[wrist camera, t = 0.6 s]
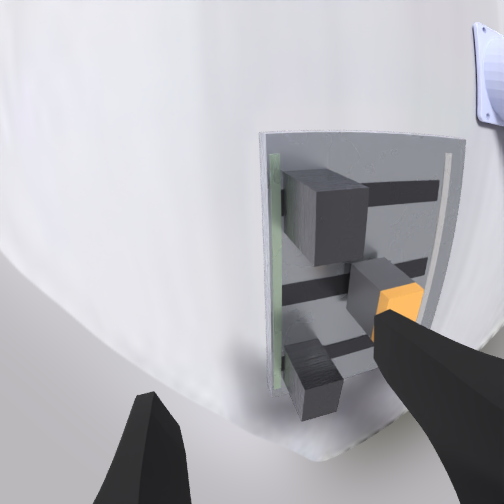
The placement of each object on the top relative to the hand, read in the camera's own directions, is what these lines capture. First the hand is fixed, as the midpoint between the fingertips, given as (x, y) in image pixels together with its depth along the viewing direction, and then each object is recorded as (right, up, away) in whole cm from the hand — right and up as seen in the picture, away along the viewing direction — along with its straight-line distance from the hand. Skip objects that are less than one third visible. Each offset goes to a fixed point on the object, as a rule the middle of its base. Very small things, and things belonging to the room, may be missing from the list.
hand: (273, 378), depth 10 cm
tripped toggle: (+6, +2, +10) cm, 12 cm away
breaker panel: (+7, +3, +11) cm, 14 cm away
